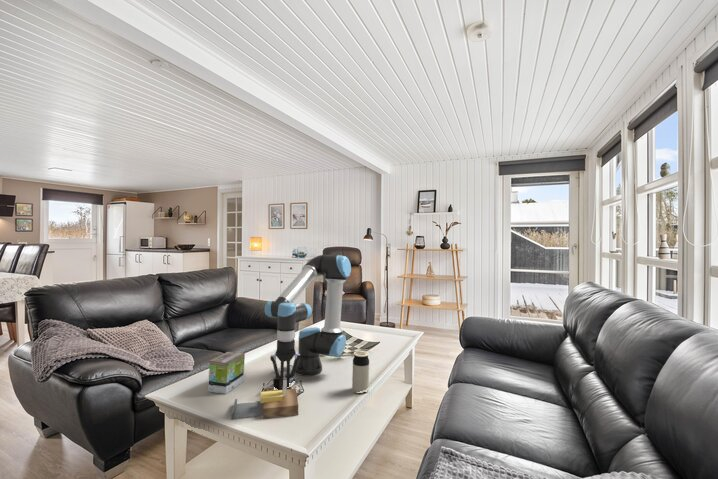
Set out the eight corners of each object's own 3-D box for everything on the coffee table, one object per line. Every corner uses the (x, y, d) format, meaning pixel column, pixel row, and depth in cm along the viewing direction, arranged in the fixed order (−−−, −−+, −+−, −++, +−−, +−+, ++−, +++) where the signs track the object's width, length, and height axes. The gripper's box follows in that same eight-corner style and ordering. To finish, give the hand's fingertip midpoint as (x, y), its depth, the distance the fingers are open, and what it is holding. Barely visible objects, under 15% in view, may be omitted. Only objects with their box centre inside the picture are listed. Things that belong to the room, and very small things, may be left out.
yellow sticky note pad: (282, 394, 145) (282, 390, 145) (282, 401, 140) (282, 396, 140) (260, 396, 143) (261, 391, 143) (260, 403, 137) (260, 398, 137)
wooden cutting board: (295, 397, 152) (295, 388, 152) (298, 414, 136) (298, 405, 136) (263, 400, 148) (264, 391, 148) (262, 418, 133) (263, 408, 133)
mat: (263, 402, 146) (264, 396, 146) (263, 416, 135) (263, 409, 135) (235, 404, 143) (235, 399, 143) (231, 419, 132) (231, 412, 132)
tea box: (226, 394, 153) (227, 362, 153) (207, 392, 155) (208, 360, 155) (244, 381, 168) (245, 352, 168) (226, 379, 170) (227, 350, 170)
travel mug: (356, 395, 155) (357, 356, 155) (349, 388, 162) (350, 351, 162) (371, 392, 159) (372, 354, 159) (363, 385, 166) (364, 349, 166)
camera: (283, 396, 153) (284, 374, 153) (271, 393, 155) (271, 372, 155) (299, 383, 167) (300, 363, 167) (288, 381, 169) (288, 362, 169)
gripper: (300, 336, 148) (298, 389, 148) (270, 337, 145) (268, 391, 145) (301, 341, 141) (300, 396, 141) (270, 342, 138) (268, 399, 137)
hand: (284, 394), depth 143 cm, fingers closed
